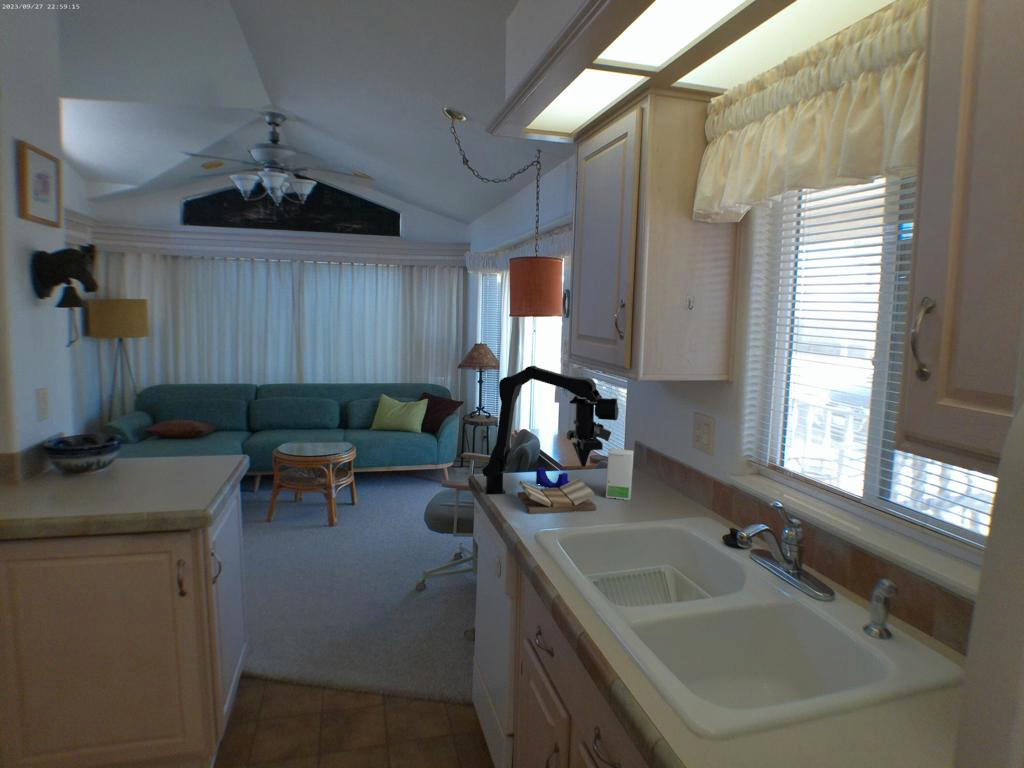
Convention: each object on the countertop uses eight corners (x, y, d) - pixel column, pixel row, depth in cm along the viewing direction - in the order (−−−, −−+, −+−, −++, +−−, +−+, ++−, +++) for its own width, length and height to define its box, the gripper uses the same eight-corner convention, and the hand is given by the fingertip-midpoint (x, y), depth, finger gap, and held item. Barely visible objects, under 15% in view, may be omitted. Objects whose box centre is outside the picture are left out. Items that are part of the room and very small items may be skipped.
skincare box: (605, 498, 199) (606, 452, 197) (606, 492, 205) (608, 447, 204) (631, 500, 197) (632, 453, 195) (632, 494, 203) (633, 449, 202)
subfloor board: (517, 496, 199) (517, 492, 199) (578, 493, 204) (578, 489, 203) (529, 514, 182) (529, 509, 182) (596, 510, 186) (596, 506, 186)
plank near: (518, 483, 198) (520, 480, 198) (537, 491, 200) (538, 488, 200) (529, 498, 182) (531, 494, 182) (549, 506, 184) (551, 503, 184)
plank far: (560, 490, 201) (559, 487, 201) (579, 481, 202) (577, 478, 202) (575, 505, 186) (573, 502, 185) (595, 495, 187) (593, 491, 186)
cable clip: (570, 489, 209) (570, 472, 208) (561, 492, 206) (561, 475, 205) (544, 482, 217) (545, 466, 217) (536, 485, 214) (536, 468, 213)
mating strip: (540, 492, 200) (540, 488, 200) (557, 491, 201) (557, 487, 201) (553, 507, 184) (553, 503, 184) (571, 506, 185) (572, 502, 185)
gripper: (619, 422, 184) (617, 472, 186) (598, 412, 202) (597, 458, 204) (584, 423, 182) (583, 474, 184) (566, 413, 200) (565, 459, 202)
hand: (583, 466), depth 193 cm, fingers closed
